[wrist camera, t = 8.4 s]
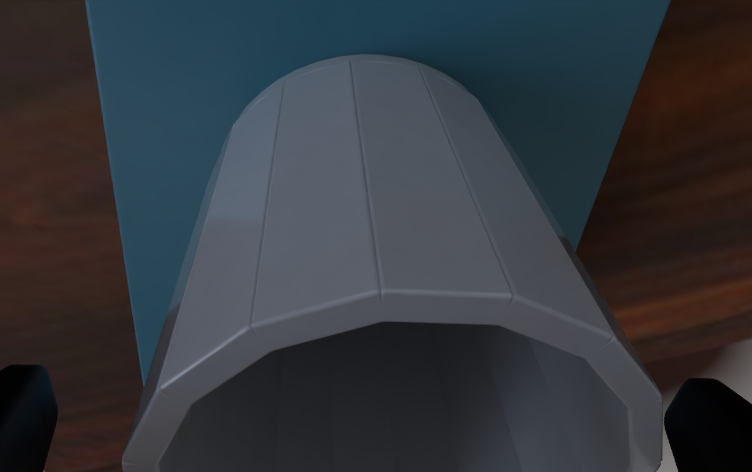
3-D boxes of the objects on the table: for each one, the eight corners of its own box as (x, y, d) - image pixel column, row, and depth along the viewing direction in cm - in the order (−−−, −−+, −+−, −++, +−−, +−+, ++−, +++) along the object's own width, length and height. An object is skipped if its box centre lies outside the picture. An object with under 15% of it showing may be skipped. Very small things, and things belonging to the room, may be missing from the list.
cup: (475, 312, 15) (570, 608, 9) (220, 303, 14) (153, 622, 9) (543, 68, 12) (764, 305, 6) (208, 37, 11) (81, 279, 5)
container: (470, 313, 22) (507, 432, 18) (184, 303, 21) (148, 428, 17) (591, -121, 15) (710, -99, 10) (143, -183, 13) (54, -189, 9)
